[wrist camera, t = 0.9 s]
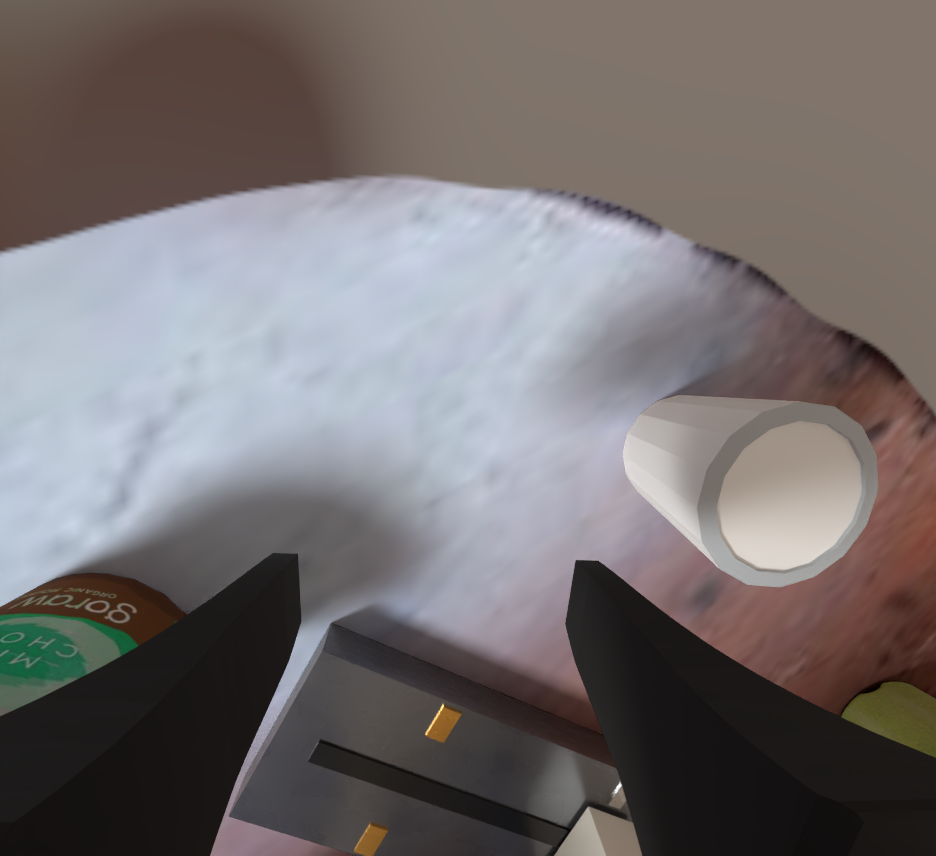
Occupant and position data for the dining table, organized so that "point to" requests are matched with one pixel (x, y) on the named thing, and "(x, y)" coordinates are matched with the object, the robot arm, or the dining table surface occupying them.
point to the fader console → (421, 762)
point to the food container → (74, 631)
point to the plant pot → (897, 715)
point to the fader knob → (600, 836)
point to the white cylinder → (756, 481)
